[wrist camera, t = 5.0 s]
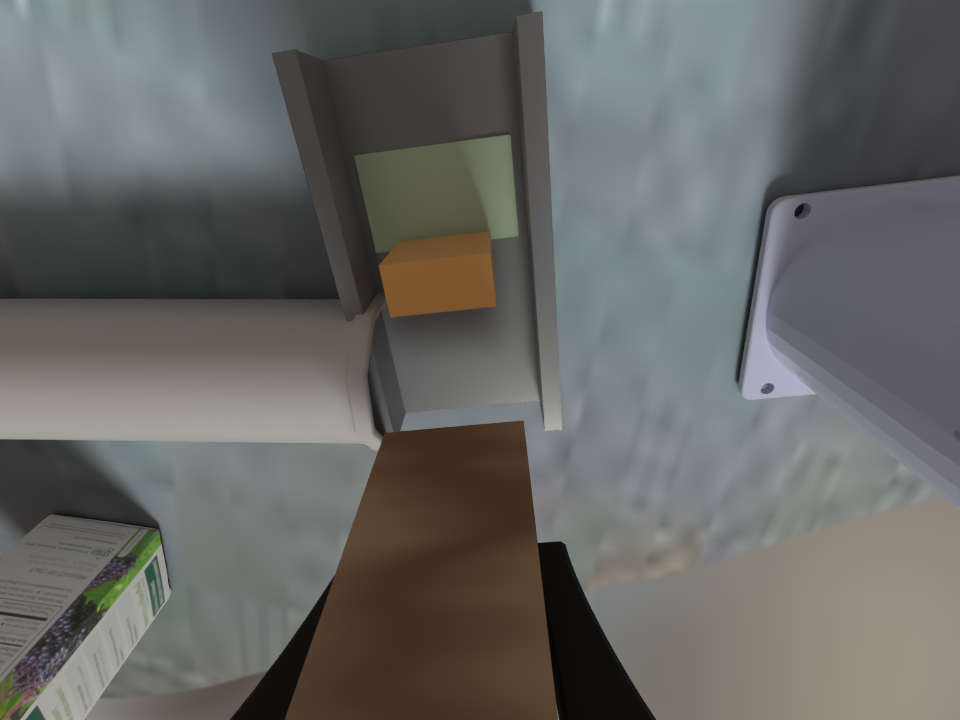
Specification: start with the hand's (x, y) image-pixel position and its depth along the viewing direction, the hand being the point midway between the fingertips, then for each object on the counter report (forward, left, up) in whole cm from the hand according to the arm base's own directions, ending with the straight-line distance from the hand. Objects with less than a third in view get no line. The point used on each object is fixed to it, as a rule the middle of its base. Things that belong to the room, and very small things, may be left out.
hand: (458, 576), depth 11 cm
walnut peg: (0, 0, -3) cm, 3 cm away
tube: (+15, -4, -9) cm, 18 cm away
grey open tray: (0, -6, -9) cm, 11 cm away
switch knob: (0, -6, -8) cm, 10 cm away
